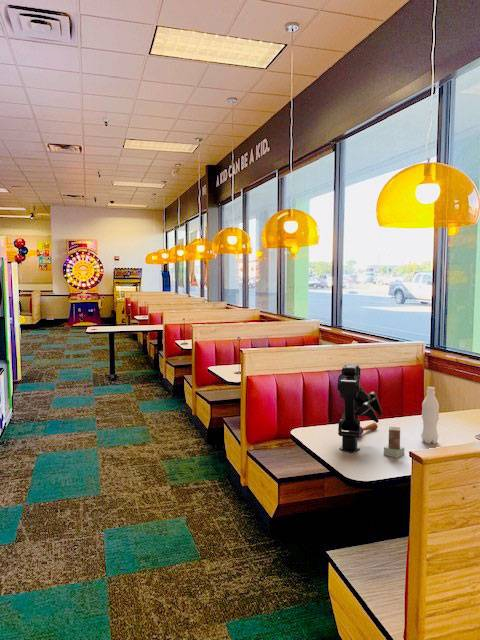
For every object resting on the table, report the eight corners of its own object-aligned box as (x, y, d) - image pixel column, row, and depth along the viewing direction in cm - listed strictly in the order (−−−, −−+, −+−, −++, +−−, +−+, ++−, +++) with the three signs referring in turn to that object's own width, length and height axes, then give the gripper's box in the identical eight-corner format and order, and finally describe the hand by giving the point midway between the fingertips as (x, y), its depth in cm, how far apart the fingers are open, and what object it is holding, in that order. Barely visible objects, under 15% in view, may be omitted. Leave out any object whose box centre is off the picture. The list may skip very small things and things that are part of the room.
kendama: (381, 422, 233) (358, 429, 219) (378, 434, 234) (355, 441, 220) (370, 418, 238) (347, 423, 224) (367, 429, 239) (345, 435, 225)
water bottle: (439, 441, 218) (441, 386, 216) (436, 445, 212) (437, 390, 210) (423, 438, 222) (424, 384, 220) (419, 442, 216) (420, 388, 214)
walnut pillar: (388, 448, 201) (388, 429, 200) (388, 444, 205) (389, 426, 205) (399, 449, 200) (400, 430, 199) (399, 445, 204) (400, 427, 203)
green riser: (396, 457, 199) (396, 450, 198) (383, 454, 203) (383, 447, 203) (404, 454, 203) (404, 447, 202) (391, 450, 207) (391, 443, 207)
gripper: (347, 394, 227) (370, 420, 224) (337, 407, 211) (361, 436, 208) (365, 380, 222) (388, 407, 219) (356, 393, 206) (381, 422, 203)
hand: (379, 418), depth 213 cm, fingers open, 9 cm apart
